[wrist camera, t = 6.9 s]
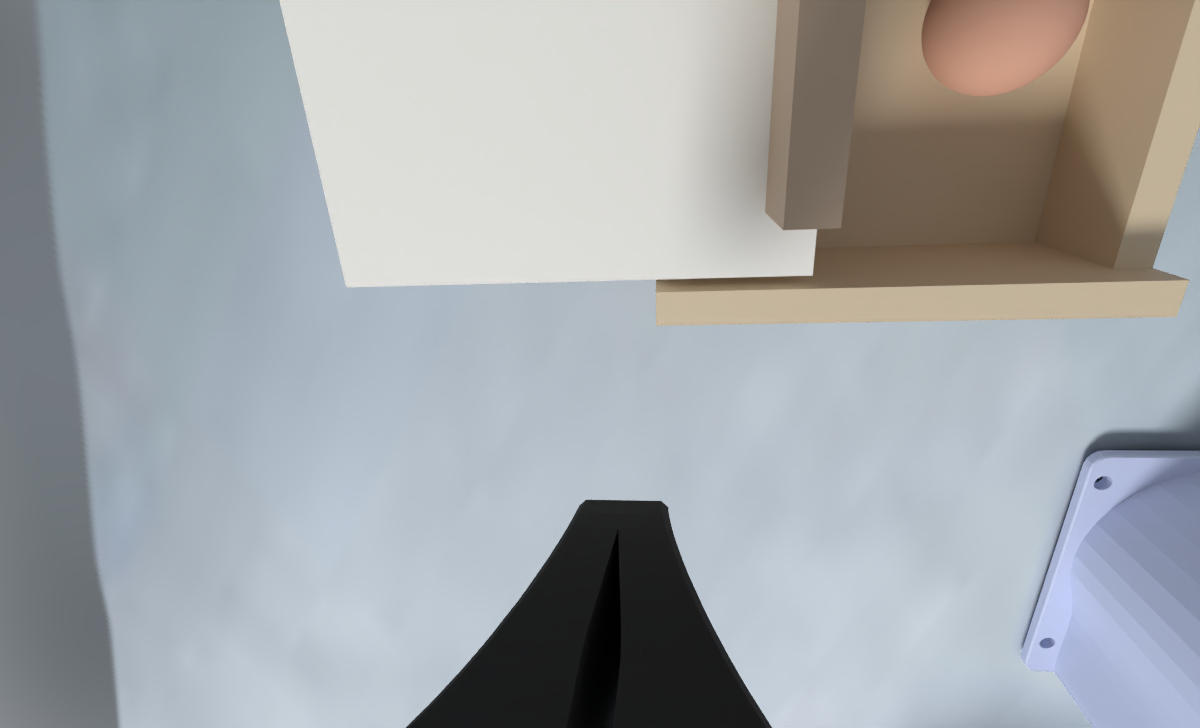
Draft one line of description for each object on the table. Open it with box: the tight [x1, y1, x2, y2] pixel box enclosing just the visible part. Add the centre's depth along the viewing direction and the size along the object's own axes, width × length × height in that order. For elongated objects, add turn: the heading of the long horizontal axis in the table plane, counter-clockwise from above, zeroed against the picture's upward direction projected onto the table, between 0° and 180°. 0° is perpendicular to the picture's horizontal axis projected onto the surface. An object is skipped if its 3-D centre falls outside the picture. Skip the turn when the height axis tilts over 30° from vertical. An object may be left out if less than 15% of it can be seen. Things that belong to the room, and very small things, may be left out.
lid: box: [280, 0, 866, 287], centre depth 11 cm, size 10×11×3 cm
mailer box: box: [656, 0, 1200, 326], centre depth 13 cm, size 12×11×5 cm
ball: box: [921, 0, 1090, 96], centre depth 13 cm, size 3×3×3 cm
